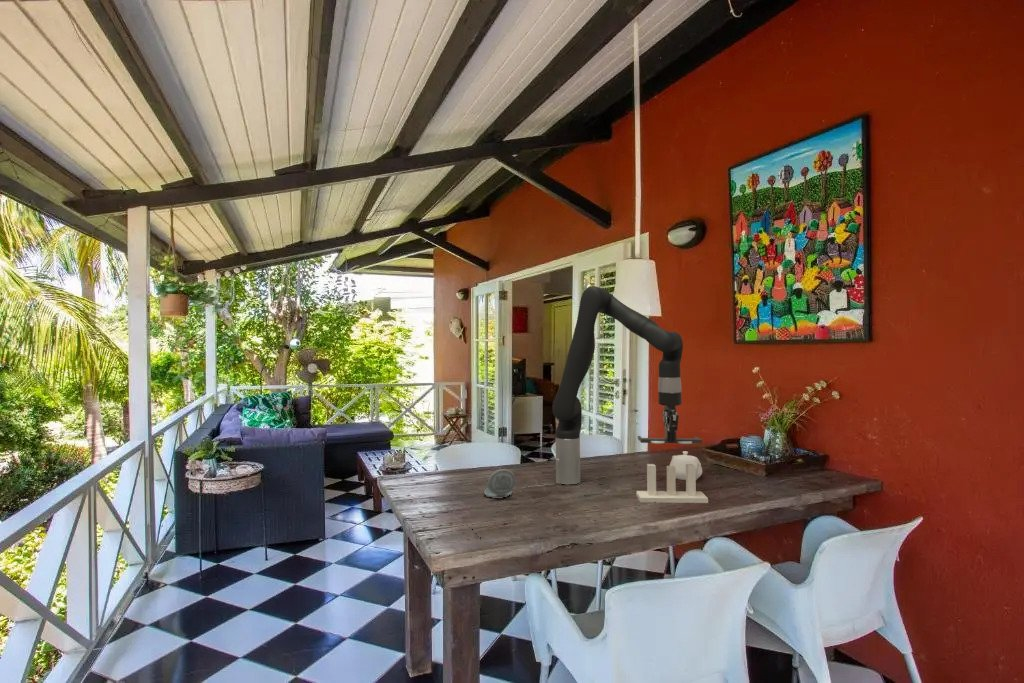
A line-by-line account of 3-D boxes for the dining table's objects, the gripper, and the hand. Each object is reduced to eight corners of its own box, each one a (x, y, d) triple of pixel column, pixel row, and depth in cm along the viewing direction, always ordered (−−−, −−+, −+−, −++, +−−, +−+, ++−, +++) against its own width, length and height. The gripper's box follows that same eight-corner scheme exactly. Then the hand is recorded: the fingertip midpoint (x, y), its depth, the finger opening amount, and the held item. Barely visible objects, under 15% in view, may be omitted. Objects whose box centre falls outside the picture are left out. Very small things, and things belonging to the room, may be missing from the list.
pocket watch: (488, 470, 177) (479, 460, 192) (488, 503, 177) (480, 490, 192) (516, 468, 180) (506, 458, 194) (517, 500, 180) (507, 488, 194)
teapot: (715, 483, 197) (715, 456, 197) (685, 485, 194) (685, 458, 194) (687, 470, 217) (686, 445, 217) (659, 472, 214) (658, 447, 214)
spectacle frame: (641, 443, 177) (641, 428, 177) (637, 438, 185) (637, 423, 185) (703, 444, 175) (703, 428, 175) (695, 439, 184) (695, 424, 184)
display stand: (640, 502, 175) (639, 467, 175) (636, 495, 183) (635, 462, 183) (708, 502, 174) (707, 468, 174) (701, 495, 182) (700, 462, 182)
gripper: (654, 388, 186) (655, 437, 186) (662, 392, 172) (663, 445, 172) (676, 388, 185) (676, 437, 185) (686, 392, 171) (687, 445, 171)
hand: (670, 441), depth 178 cm, fingers closed on spectacle frame, 3 cm apart
